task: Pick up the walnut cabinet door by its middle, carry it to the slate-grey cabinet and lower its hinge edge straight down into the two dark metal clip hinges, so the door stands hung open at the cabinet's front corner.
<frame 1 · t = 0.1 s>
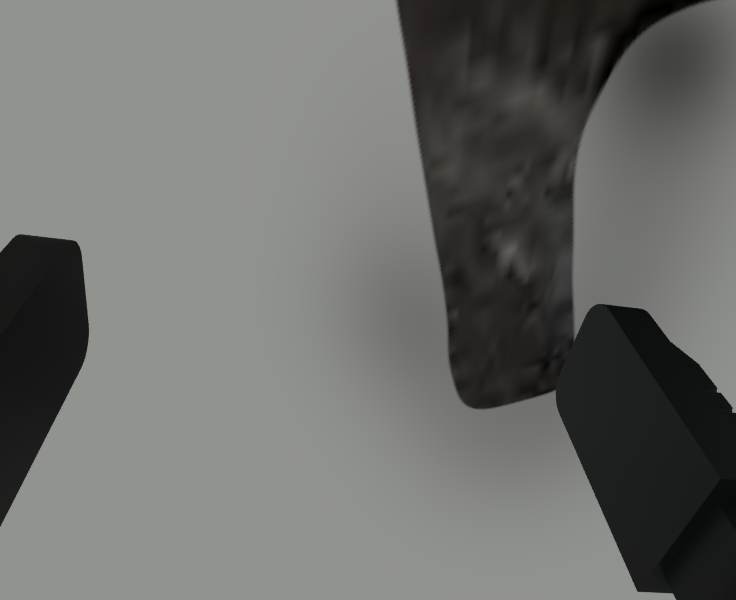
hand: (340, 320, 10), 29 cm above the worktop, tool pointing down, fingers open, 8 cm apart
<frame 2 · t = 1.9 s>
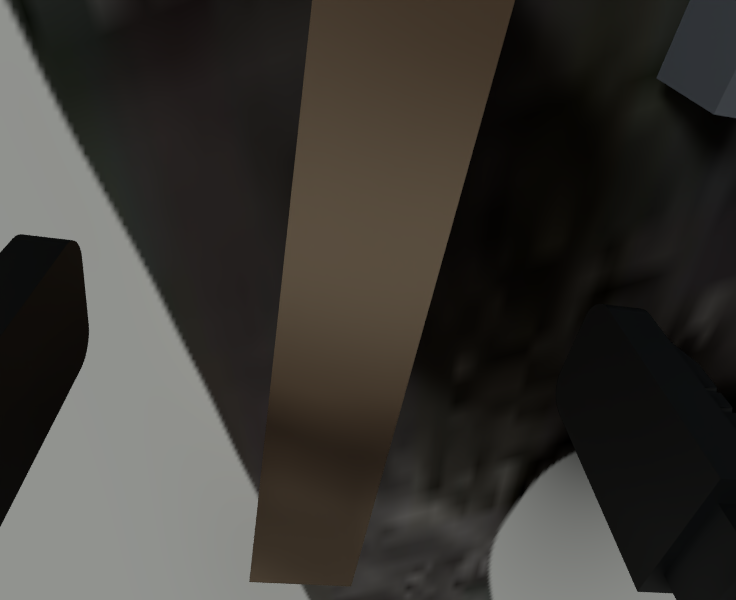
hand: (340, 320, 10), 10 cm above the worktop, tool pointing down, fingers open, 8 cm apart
walnut door: (337, 105, 18), on the worktop
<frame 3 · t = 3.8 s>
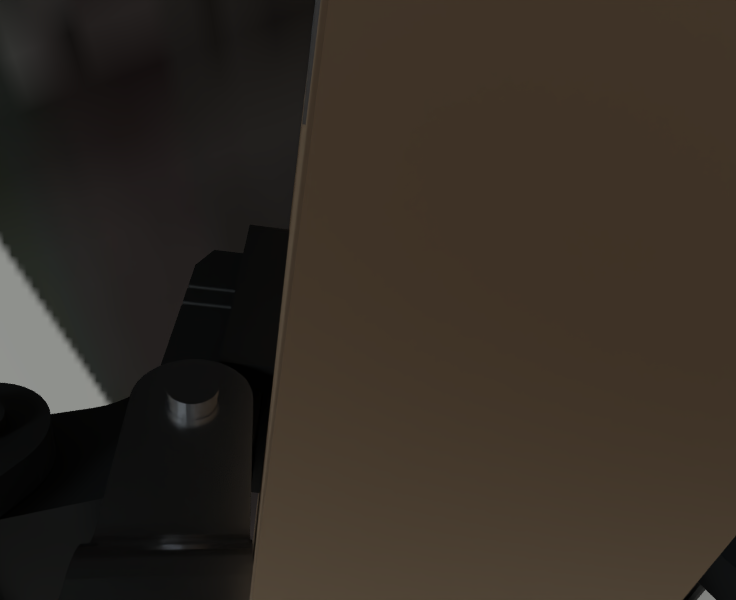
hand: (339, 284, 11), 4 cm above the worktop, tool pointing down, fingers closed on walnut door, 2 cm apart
walnut door: (338, 199, 14), on the worktop, touching gripper
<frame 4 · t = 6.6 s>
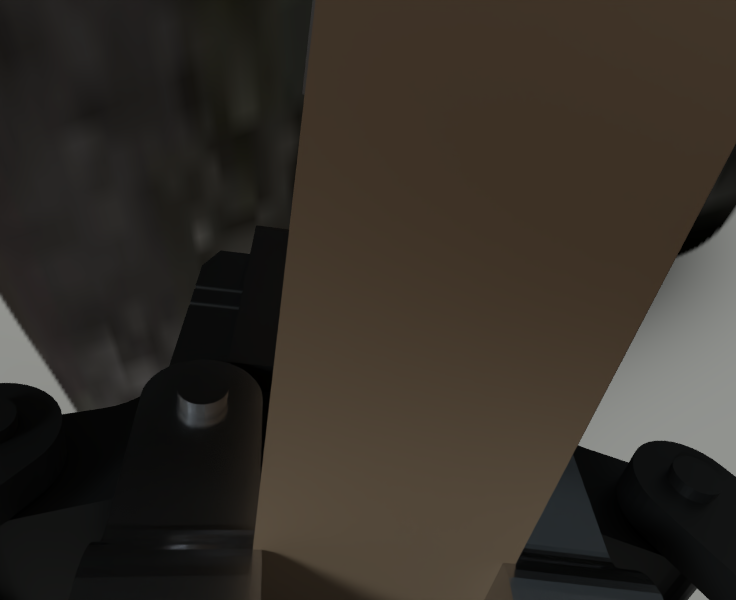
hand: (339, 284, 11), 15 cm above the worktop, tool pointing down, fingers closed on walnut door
walnut door: (337, 184, 15), point 10 cm above the worktop, touching gripper
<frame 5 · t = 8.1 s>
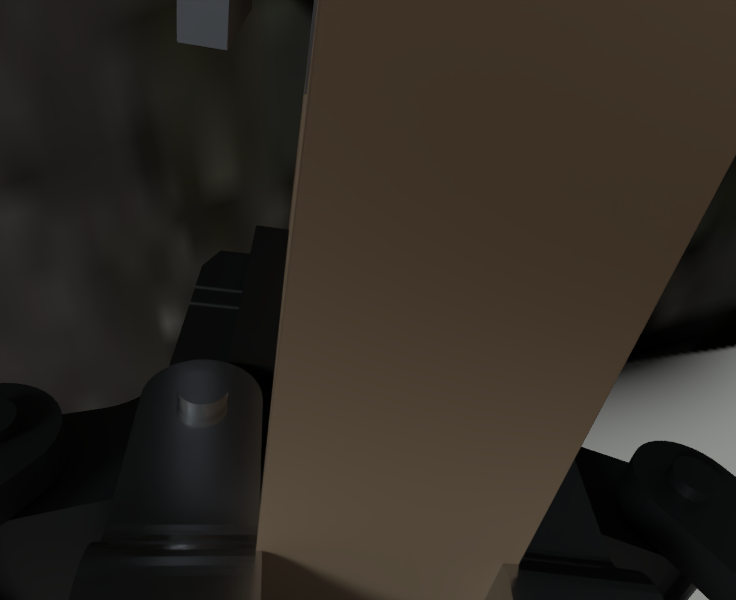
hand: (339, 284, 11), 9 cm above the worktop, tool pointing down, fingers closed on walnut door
walnut door: (336, 183, 15), point 4 cm above the worktop, touching gripper
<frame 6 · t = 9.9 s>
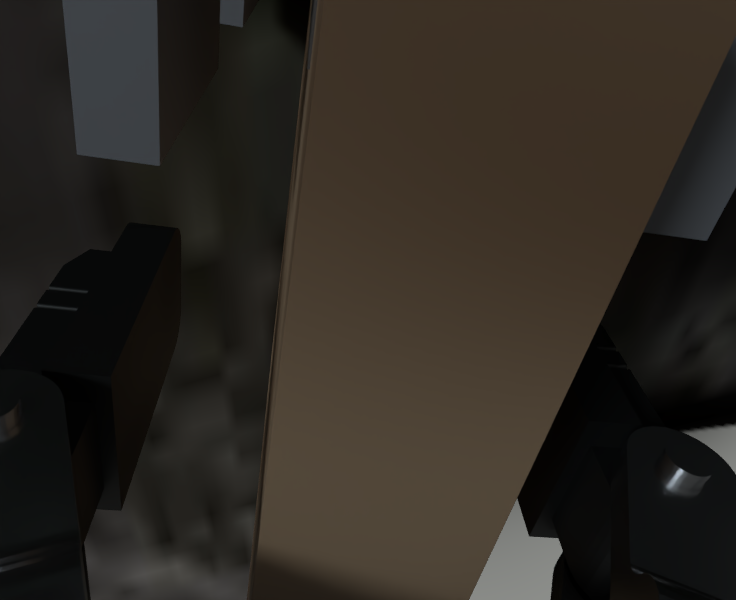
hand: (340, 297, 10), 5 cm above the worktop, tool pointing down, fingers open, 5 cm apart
walnut door: (333, 174, 15), on the worktop
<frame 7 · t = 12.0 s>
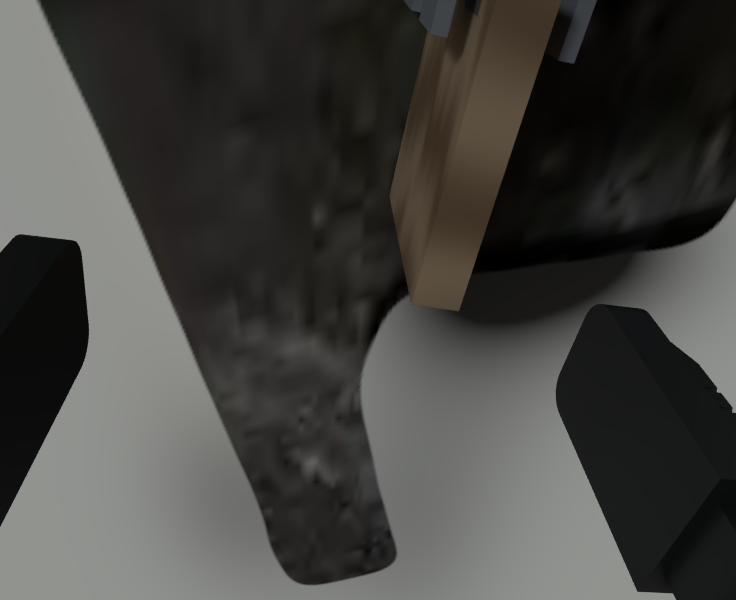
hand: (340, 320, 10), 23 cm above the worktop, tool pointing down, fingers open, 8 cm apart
walnut door: (433, 90, 31), on the worktop
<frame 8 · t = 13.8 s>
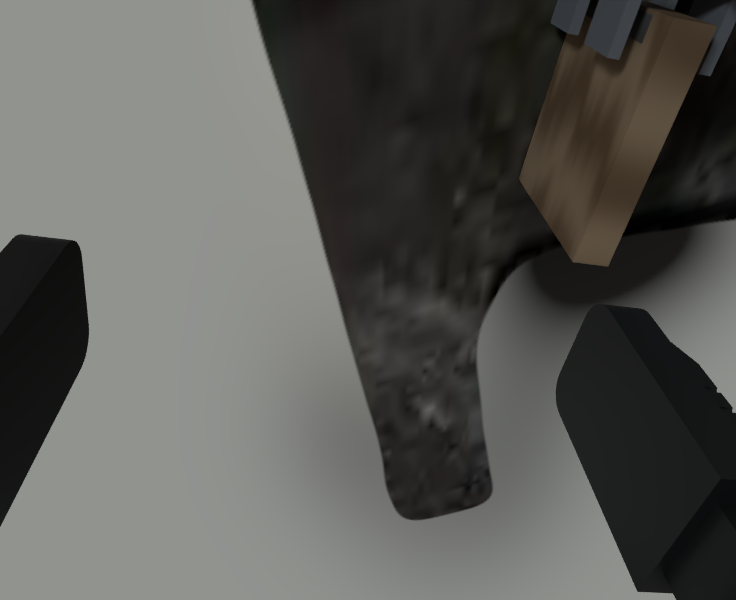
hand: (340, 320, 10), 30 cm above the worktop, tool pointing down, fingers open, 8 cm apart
walnut door: (563, 92, 38), on the worktop
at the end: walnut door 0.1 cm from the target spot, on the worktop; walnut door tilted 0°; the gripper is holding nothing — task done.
